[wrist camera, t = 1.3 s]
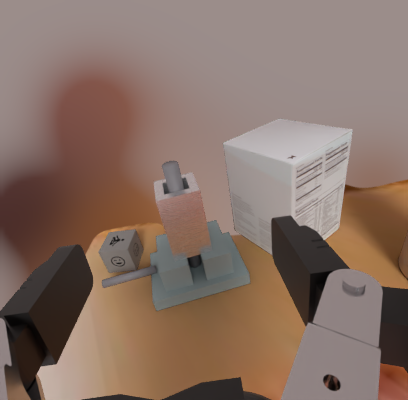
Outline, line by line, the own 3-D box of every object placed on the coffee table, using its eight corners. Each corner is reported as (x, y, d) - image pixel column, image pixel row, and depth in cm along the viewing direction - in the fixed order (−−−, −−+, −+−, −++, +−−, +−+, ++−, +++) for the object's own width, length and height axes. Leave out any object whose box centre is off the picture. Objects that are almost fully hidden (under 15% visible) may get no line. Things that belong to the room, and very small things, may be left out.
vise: (230, 240, 47) (214, 139, 37) (250, 283, 38) (237, 166, 28) (113, 273, 45) (63, 175, 35) (107, 325, 36) (38, 216, 26)
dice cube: (118, 252, 49) (108, 232, 46) (143, 250, 48) (135, 229, 46) (109, 273, 45) (98, 252, 42) (136, 270, 44) (127, 249, 42)
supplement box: (341, 228, 45) (356, 128, 35) (291, 269, 39) (292, 164, 30) (280, 200, 54) (279, 117, 45) (232, 230, 49) (220, 142, 40)
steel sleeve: (204, 228, 41) (192, 172, 36) (212, 250, 36) (200, 190, 31) (170, 237, 40) (153, 181, 35) (174, 261, 36) (155, 201, 31)
